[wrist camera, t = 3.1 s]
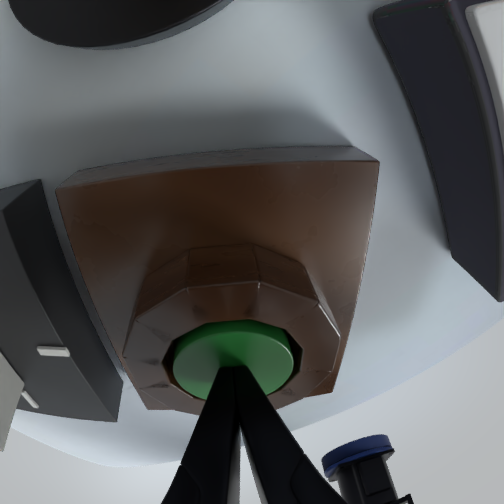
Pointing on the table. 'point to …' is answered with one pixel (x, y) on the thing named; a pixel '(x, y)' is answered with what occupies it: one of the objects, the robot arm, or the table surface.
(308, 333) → the switch block
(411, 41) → the calculator
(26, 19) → the desk lamp
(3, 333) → the panel
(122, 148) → the table surface
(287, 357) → the power button
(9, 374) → the dimmer knob
